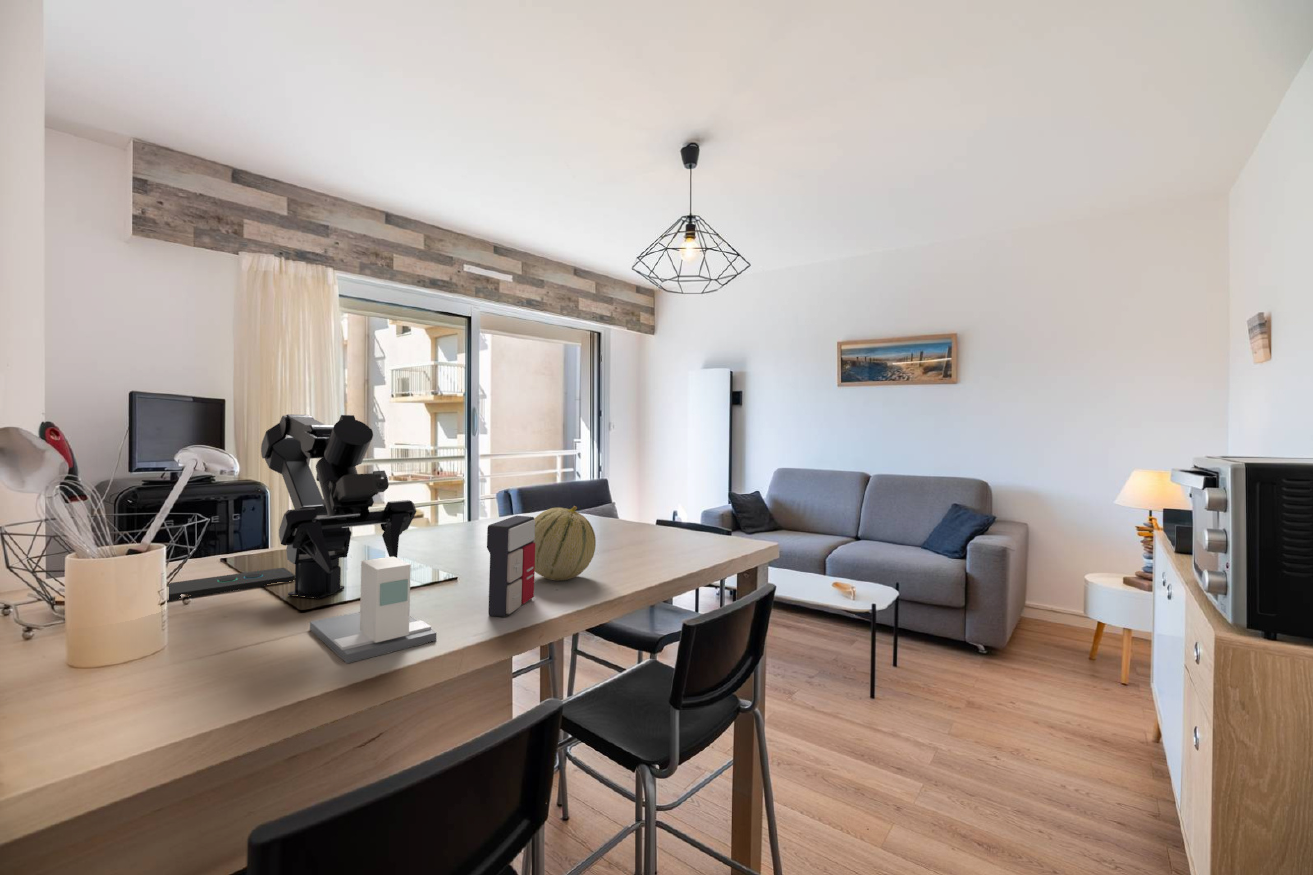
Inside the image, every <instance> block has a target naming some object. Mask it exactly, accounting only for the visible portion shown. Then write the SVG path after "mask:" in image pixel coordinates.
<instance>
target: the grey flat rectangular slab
mask: <svg viewBox="0 0 1313 875" xmlns="http://www.w3.org/2000/svg"><path fill="white" fill-rule="evenodd" d="M309 630H310V631H311V632H312V633H313V634H314V635H315V636H316V637H317V638H318V639H320V640H321V641H322V642H323V643H324V644H325V645H326V646H327V647H328V648H329V649H330V650H332V652H334V654H336V655H337V656H338V657H339V658H340V659H341V660H342V661H343V662H344V663H346V664H350V663H351V664H352V663H354V662H358V661H362V659H363V660H366V659H369V658H374V657H378V656H382V655H385V654H389V653H394V652H397V650H398V651H401V650H404V649H410V648H413V646H414V647H417V646H421V645H425V644H428V642H429V643H432V642H431V641H433V642H436V641H437V632H436V631H435V630H432V626H431V625H430V624H428V623H426V622H425V621H423V620H421V619H420V620H417V619H416V618H414V617H413V616H410V615H409V635H406V636H402V637H398V638H394V639H389V640H385V641H381V642H377V643H375V642H374V641H373V640H371V639H370V638H369V637H368V636H366V635H365V634H364V633H362V632H361V631H360V611H356V612H351V613H347V614H342V615H336V616H332V617H331V616H330V617H326V618H321V619H314V620H312V621H311V620H310V621H309ZM424 643H425V644H424ZM409 647H410V648H409ZM393 651H394V652H393Z"/></svg>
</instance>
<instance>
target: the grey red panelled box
mask: <svg viewBox="0 0 1313 875" xmlns="http://www.w3.org/2000/svg"><path fill="white" fill-rule="evenodd" d="M534 518H535V517H534V516H529V515H528V516H527V515H514V516H511V517H508V518H506V519H503V520H500V521H497V522H493V523H491V524H488V526H487V528H486V529H487V533H486V534H487V535H486V549H487V551H488V553H489V577H488V578H489V579H488V580H489V582H488V585H489V586H488V609H487V610H488V616H490V617H498V618H507V617H509V615H511V614H512V613H513V612H515V611H516V610H518V609H519V608H520V607H522V606H523V605H525V604H526V603H527V602H529V601H530V600H532V599H533V598H534V597H535V573H536V572H535V543H534V539H535V520H534Z"/></svg>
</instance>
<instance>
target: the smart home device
mask: <svg viewBox="0 0 1313 875" xmlns="http://www.w3.org/2000/svg"><path fill="white" fill-rule="evenodd" d="M293 580H295V573H293V572H291V571H290V570H288V569H287V568H285V567H277V568H270V569H269V568H268V569H261V570H256V571H254V570H253V571H247V572H240V573H234V574H226V575H225V574H224V575H218V576H210V577H203V578H197V579H190V580H189V579H188V580H183V581H174V582H169V583H170V584H169V601H168V602H171V601H172V602H173V601H177V600H178V599H179V598H181V596H180V595H181V594H188V595H191V596H189V598H188V599H190V598H191V599H192V598H198V597H203V596H209V595H210V596H211V595H217V594H223V593H224V594H225V593H230V592H236V591H242V590H243V591H244V590H251V589H256V588H262V587H265V586H264V585H267V584H271V583H277V582H289V581H293ZM289 583H290V582H289ZM179 600H180V599H179Z"/></svg>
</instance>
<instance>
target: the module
mask: <svg viewBox="0 0 1313 875" xmlns="http://www.w3.org/2000/svg"><path fill="white" fill-rule="evenodd" d="M360 566H361V568H360V605H359V606H360V607H359V610H360V611H359V612H360V631H361V632H362V633H364V634H365V635H366V636H368V637H369V638H370V639H371V640H373V641H374V642H375V643H377V642H381V641H385V640H389V639H394V638H398V637H402V636H406V635H409V616H410V610H411V609H410V607H411V606H410V605H411V604H410V602H411V571H412V570H411V569H412V568H411V567H412V565H411V563H408V562H406V561H404V560H402V559H401V558H398V557H397V558H396V557H394V556H393V557H389V556H387V557H379V558H373V559H365V560H361V563H360Z"/></svg>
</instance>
